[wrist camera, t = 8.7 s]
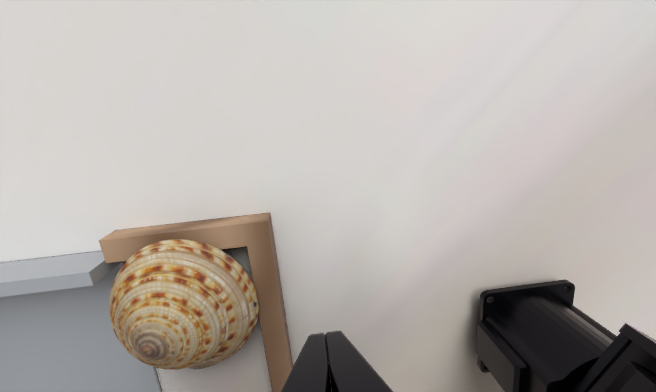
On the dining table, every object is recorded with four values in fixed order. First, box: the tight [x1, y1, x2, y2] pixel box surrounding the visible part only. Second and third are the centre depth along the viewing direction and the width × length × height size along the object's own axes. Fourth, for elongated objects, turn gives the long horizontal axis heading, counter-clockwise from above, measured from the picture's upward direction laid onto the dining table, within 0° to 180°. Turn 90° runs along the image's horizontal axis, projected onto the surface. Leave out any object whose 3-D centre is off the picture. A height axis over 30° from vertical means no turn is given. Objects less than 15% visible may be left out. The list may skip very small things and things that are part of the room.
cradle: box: [99, 213, 293, 392], centre depth 21 cm, size 9×16×2 cm, turn 5°
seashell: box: [109, 239, 259, 369], centre depth 19 cm, size 8×6×8 cm
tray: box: [0, 251, 162, 392], centre depth 19 cm, size 14×14×3 cm
